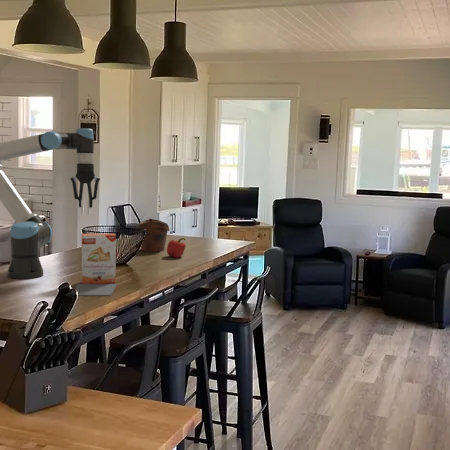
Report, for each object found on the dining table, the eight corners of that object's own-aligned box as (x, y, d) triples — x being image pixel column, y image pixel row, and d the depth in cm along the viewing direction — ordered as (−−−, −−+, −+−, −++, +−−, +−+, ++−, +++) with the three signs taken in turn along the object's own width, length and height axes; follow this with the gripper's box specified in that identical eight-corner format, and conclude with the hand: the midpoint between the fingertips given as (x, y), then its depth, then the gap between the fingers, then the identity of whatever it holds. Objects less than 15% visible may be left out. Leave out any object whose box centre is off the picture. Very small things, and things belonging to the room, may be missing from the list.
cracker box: (82, 285, 262) (81, 235, 259) (81, 282, 268) (81, 233, 265) (116, 283, 265) (115, 234, 263) (114, 280, 271) (114, 232, 269)
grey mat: (69, 295, 242) (69, 294, 242) (78, 284, 262) (78, 283, 262) (111, 295, 243) (111, 294, 243) (116, 284, 263) (116, 283, 263)
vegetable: (181, 254, 342) (181, 236, 341) (190, 257, 334) (190, 238, 332) (163, 256, 336) (163, 237, 335) (172, 259, 328) (172, 240, 327)
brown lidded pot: (151, 246, 369) (151, 215, 367) (176, 250, 357) (176, 219, 354) (128, 250, 356) (128, 218, 353) (153, 254, 343) (153, 221, 341)
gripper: (66, 162, 280) (67, 215, 282) (101, 163, 281) (101, 215, 283) (69, 162, 287) (70, 213, 290) (103, 163, 288) (103, 214, 291)
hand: (85, 214), depth 287 cm, fingers open, 2 cm apart
